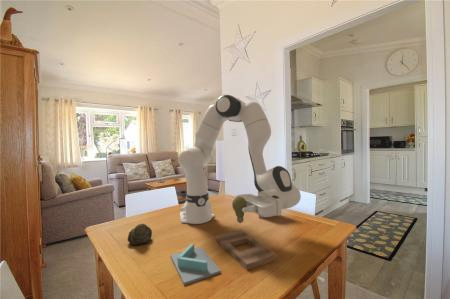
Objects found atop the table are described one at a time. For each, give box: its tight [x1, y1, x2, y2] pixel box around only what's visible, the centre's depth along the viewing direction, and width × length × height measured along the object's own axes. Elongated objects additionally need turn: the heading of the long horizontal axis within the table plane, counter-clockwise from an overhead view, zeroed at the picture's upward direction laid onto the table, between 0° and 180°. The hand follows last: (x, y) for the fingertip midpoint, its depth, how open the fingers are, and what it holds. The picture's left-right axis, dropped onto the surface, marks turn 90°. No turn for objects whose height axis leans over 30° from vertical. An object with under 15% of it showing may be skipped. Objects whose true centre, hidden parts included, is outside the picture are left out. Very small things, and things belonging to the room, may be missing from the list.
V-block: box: [169, 243, 222, 286], centre depth 74 cm, size 18×12×4 cm, turn 27°
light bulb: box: [231, 196, 247, 224], centre depth 82 cm, size 6×6×10 cm
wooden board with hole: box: [215, 229, 277, 271], centre depth 83 cm, size 24×12×2 cm, turn 27°
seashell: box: [127, 223, 153, 245], centre depth 93 cm, size 11×12×10 cm
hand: (237, 207), depth 82 cm, fingers closed on light bulb, 5 cm apart
